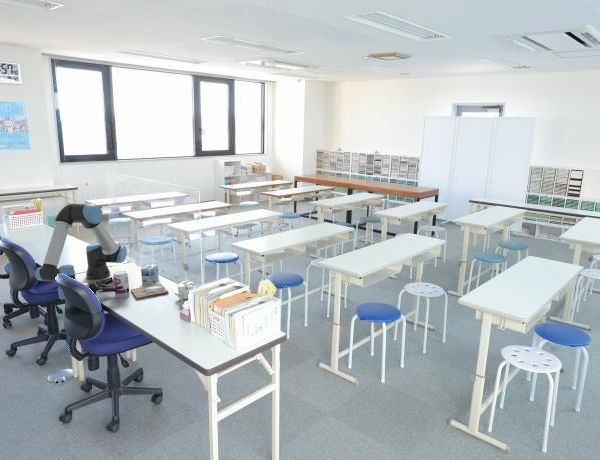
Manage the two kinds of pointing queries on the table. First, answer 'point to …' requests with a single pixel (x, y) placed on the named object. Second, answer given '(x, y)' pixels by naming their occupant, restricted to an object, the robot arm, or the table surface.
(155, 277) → the light bulb box
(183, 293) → the mechanical part
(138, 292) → the gear board
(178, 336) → the table surface
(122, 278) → the supplement can
